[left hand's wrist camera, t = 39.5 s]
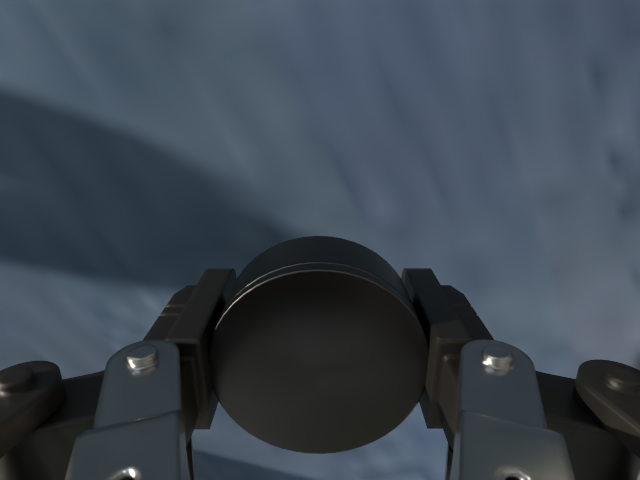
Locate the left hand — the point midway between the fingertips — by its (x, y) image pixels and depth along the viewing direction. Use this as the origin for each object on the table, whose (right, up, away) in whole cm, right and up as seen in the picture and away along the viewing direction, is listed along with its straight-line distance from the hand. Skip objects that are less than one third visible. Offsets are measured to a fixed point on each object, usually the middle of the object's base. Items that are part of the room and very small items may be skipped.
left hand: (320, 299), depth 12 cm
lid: (0, -1, -3) cm, 3 cm away
